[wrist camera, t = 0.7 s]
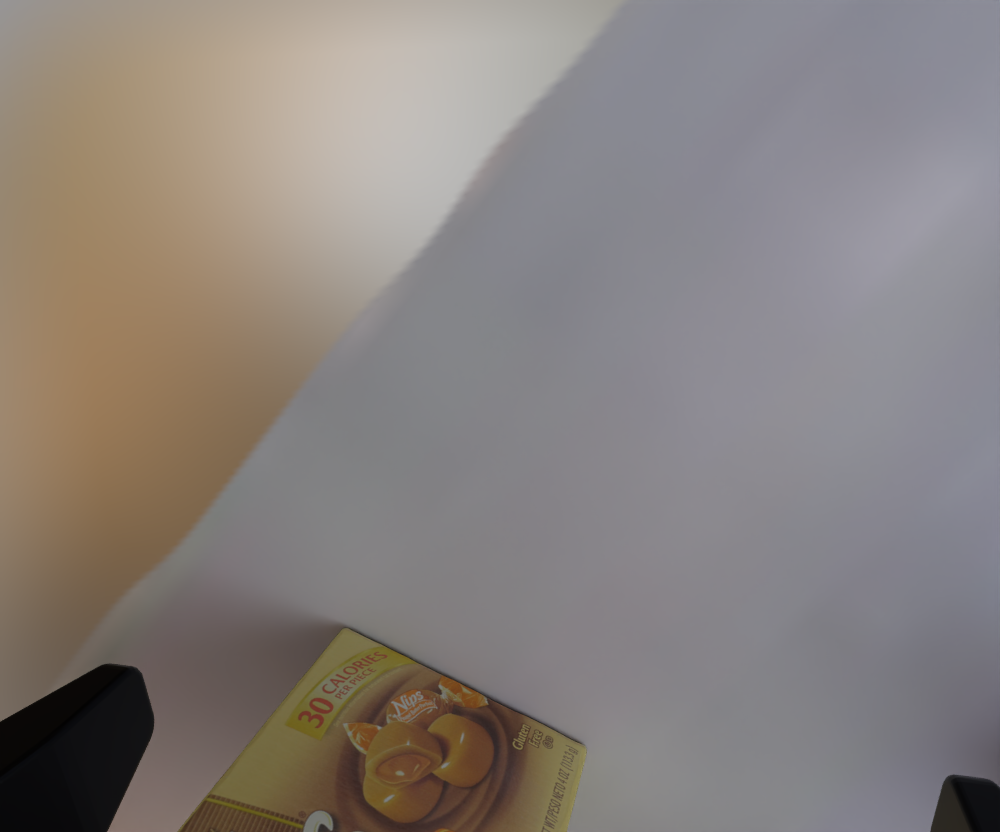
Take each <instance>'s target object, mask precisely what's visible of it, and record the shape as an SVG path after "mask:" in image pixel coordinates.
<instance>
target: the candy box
mask: <svg viewBox="0 0 1000 832" xmlns="http://www.w3.org/2000/svg"><path fill="white" fill-rule="evenodd" d="M586 753H587V749H586V747H585V745H582V744H580V743H577V742H575V741H573V740H571V739H569V738H567V737H565V736H564V735H562V734H560V733H558V732H556V731H554V730H552V729H550V728H549V727H547V726H545V725H543V724H541V723H539V722H537V721H535V720H533V719H531V718H529V717H527V716H525V715H522V714H520V713H517V712H515V711H513V710H511V709H509V708H506V707H504V706H502V705H500V704H498V703H496V702H494V701H492V700H491V699H489V698H487V697H485V696H483V695H482V694H480V693H478V692H476V691H474V690H472V689H470V688H468V687H466V686H464V685H462V684H460V683H458V682H456V681H454V680H452V679H449V678H447V677H445V676H443V675H441V674H439V673H437V672H435V671H433V670H431V669H429V668H427V667H425V666H423V665H421V664H419V663H416V662H415V661H413V660H411V659H409V658H408V657H405V656H403V655H401V654H399V653H397V652H395V651H393V650H391V649H389V648H387V647H385V646H383V645H381V644H379V643H377V642H374V641H372V640H370V639H368V638H366V637H364V636H362V635H360V634H358V633H356V632H354V631H352V630H350V629H348V628H343V629H342V630H341V631H340V632H339V634H338V635H337V636H336V637H335V638H334V639H333V641H332V642H331V643H330V644H329V646H328V647H327V648H326V649H325V650H324V652H323V653H322V654H321V655H320V657H319V658H318V659H317V660H316V661H315V663H314V664H313V665H312V666H311V668H310V669H309V670H308V671H307V672H306V674H305V675H304V676H303V677H302V678H301V679H300V681H299V682H298V683H297V684H296V686H295V687H294V688H293V689H292V691H291V692H290V693H289V694H288V696H287V697H286V698H285V699H284V700H283V702H282V703H281V704H280V705H279V707H278V708H277V709H276V710H275V711H274V713H273V714H272V715H271V716H270V718H269V719H268V720H267V721H266V723H265V724H264V725H263V726H262V728H261V729H260V730H259V731H258V733H257V734H256V735H255V736H254V738H253V739H252V740H251V742H250V743H249V744H248V745H247V746H246V748H245V749H244V750H243V751H242V753H241V754H240V755H239V756H238V757H237V759H236V760H235V761H234V763H233V764H232V765H231V766H230V767H229V769H228V770H227V771H226V772H225V774H224V775H223V776H222V777H221V778H220V780H219V781H218V782H217V783H216V785H215V786H214V787H213V788H212V790H211V791H210V792H209V793H208V795H207V796H206V797H205V798H204V799H203V800H202V802H201V803H200V804H199V805H198V807H197V808H196V809H195V810H194V812H193V813H192V814H191V815H190V817H189V818H188V819H187V820H186V822H185V823H184V824H183V825H182V827H181V828H180V829H179V830H178V832H567V828H568V824H569V820H570V816H571V813H572V809H573V805H574V801H575V797H576V793H577V789H578V785H579V781H580V777H581V773H582V769H583V766H584V762H585V757H586Z"/></svg>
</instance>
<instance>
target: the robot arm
mask: <svg viewBox="0 0 1000 832" xmlns="http://www.w3.org/2000/svg"><path fill="white" fill-rule="evenodd" d="M153 729H154V714H153V710H152V707H151V703H150V700H149V696H148V693H147V689H146V686H145V682H144V679H143V676H142V673H141V672H140V671H139V670H138V669H137V668H135V667H133V666H125V665H118V664H104V665H101V666H99V667H97V668H95V669H93V670H92V671H90V672H88V673H86V674H84V675H83V676H81V677H79V678H77V679H75V680H74V681H72V682H70V683H68V684H67V685H65V686H63V687H61V688H59V689H58V690H56V691H54V692H52V693H51V694H49V695H47V696H45V697H43V698H42V699H40V700H38V701H36V702H34V703H33V704H31V705H29V706H28V707H26V708H24V709H22V710H20V711H19V712H17V713H15V714H13V715H11V716H10V717H8V718H6V719H4V720H2V721H1V722H0V832H107V831H108V829H109V827H110V825H111V823H112V821H113V818H114V816H115V814H116V812H117V810H118V808H119V805H120V803H121V801H122V799H123V797H124V795H125V793H126V790H127V788H128V786H129V784H130V782H131V780H132V778H133V775H134V773H135V771H136V769H137V767H138V765H139V763H140V760H141V758H142V756H143V754H144V752H145V750H146V748H147V745H148V743H149V741H150V739H151V736H152V733H153ZM930 832H1000V787H999V786H998V785H997V784H995V783H994V782H993V781H991V780H988V779H984V778H976V777H969V776H961V775H950V776H948V777H947V778H946V779H945V781H944V783H943V785H942V789H941V793H940V796H939V800H938V804H937V808H936V811H935V815H934V819H933V822H932V826H931V831H930Z"/></svg>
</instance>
